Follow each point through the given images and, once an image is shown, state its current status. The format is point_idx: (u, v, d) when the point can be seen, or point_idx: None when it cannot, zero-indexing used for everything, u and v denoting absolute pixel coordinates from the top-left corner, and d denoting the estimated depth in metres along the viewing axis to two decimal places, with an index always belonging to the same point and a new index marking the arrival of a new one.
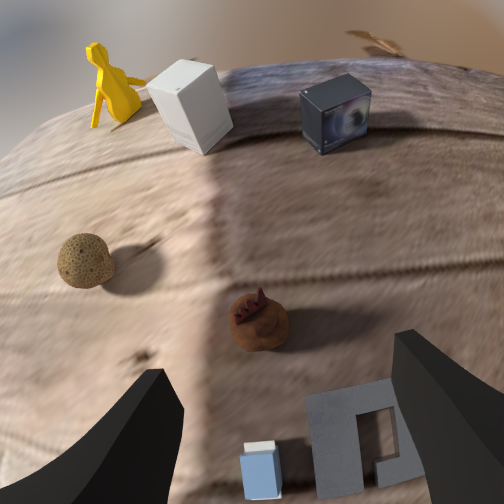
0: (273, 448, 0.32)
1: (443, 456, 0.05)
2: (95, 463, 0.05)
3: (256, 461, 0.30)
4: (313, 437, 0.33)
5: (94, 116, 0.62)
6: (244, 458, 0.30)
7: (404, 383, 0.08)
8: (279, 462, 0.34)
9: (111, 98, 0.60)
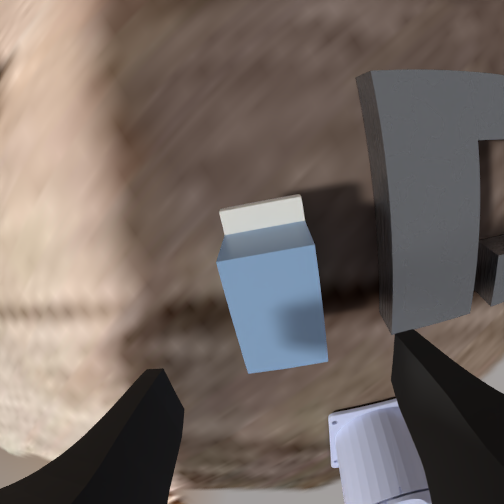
0: (300, 219, 0.14)
1: (443, 456, 0.05)
2: (96, 463, 0.05)
3: (268, 273, 0.12)
4: (395, 185, 0.14)
5: None
6: (230, 269, 0.12)
7: (404, 383, 0.08)
8: None
9: None
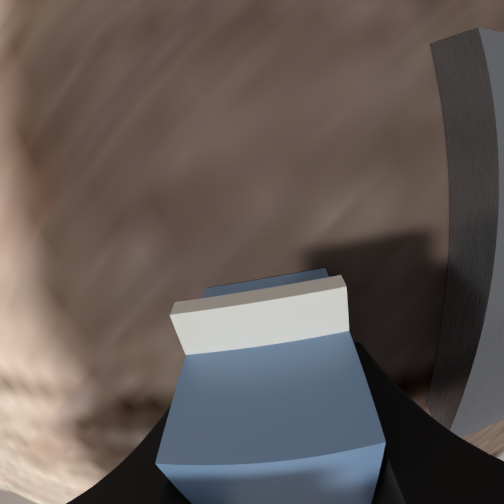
0: (340, 329, 0.06)
1: None
2: None
3: (272, 483, 0.04)
4: None
5: None
6: (189, 475, 0.04)
7: None
8: None
9: None
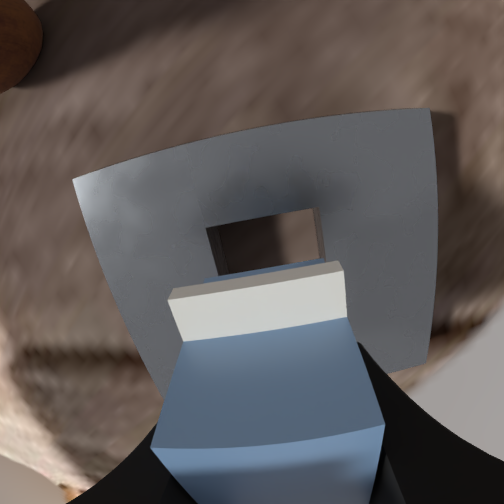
0: (338, 314, 0.06)
1: None
2: (164, 471, 0.05)
3: (269, 469, 0.04)
4: (113, 284, 0.15)
5: None
6: (185, 461, 0.04)
7: None
8: None
9: None
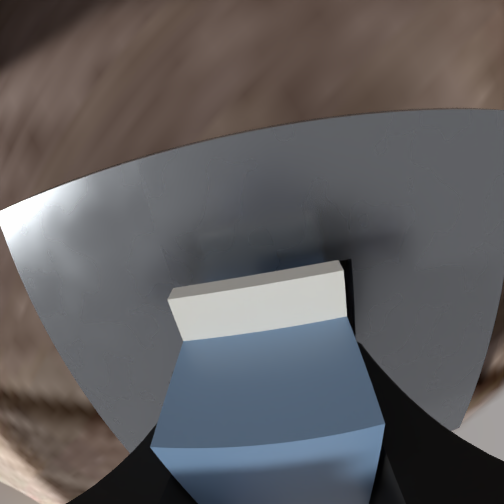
0: (338, 314, 0.06)
1: None
2: (164, 470, 0.05)
3: (269, 469, 0.04)
4: (63, 350, 0.10)
5: None
6: (184, 460, 0.04)
7: None
8: None
9: None
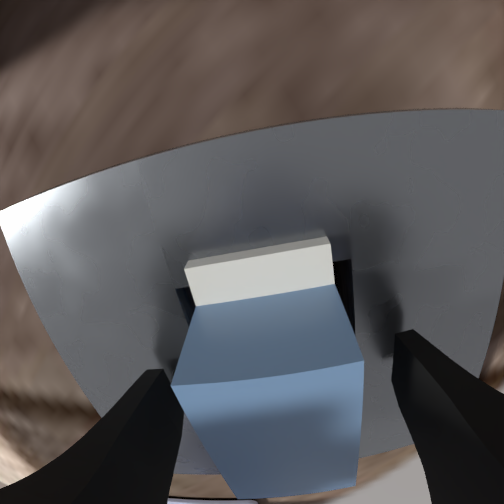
0: (327, 281, 0.08)
1: (443, 456, 0.05)
2: (95, 462, 0.05)
3: (270, 405, 0.06)
4: (63, 350, 0.10)
5: None
6: (199, 397, 0.06)
7: (404, 383, 0.08)
8: None
9: None
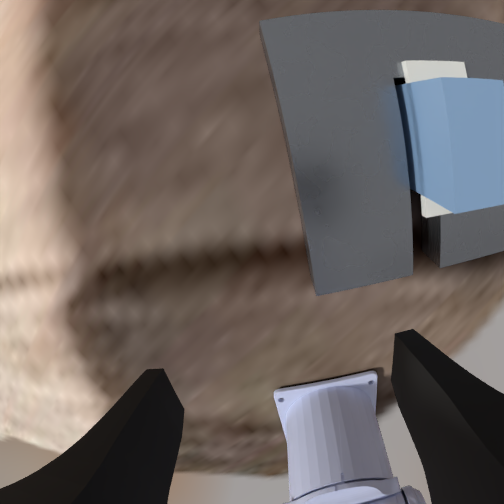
0: None
1: (443, 456, 0.05)
2: (95, 463, 0.05)
3: (477, 97, 0.09)
4: (293, 129, 0.14)
5: None
6: (451, 86, 0.09)
7: (404, 383, 0.08)
8: None
9: None
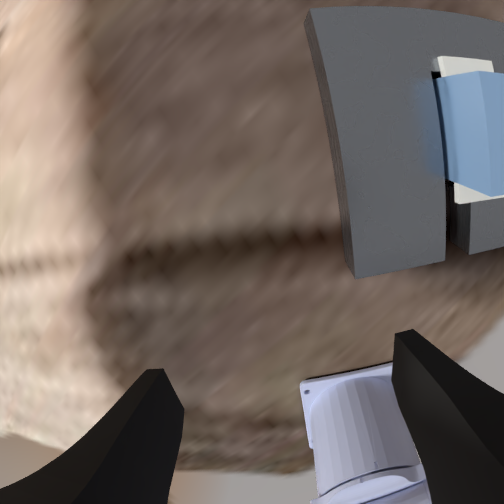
0: None
1: (443, 456, 0.05)
2: (95, 463, 0.05)
3: None
4: (341, 112, 0.14)
5: None
6: (487, 80, 0.09)
7: (404, 383, 0.08)
8: None
9: None
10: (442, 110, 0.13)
